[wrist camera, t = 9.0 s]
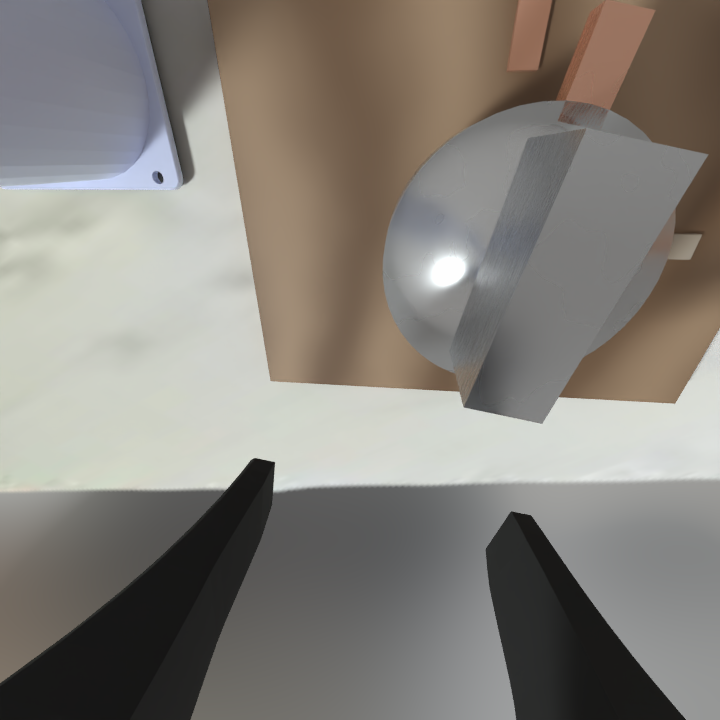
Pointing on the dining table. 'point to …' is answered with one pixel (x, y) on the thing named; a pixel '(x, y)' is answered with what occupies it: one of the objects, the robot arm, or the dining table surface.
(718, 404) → the dining table surface
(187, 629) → the robot arm
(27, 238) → the dining table surface
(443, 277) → the cap
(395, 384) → the post board
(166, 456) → the dining table surface
